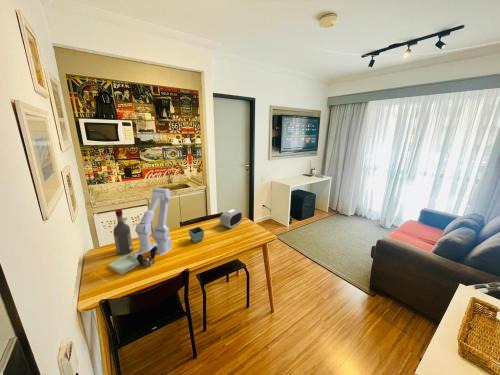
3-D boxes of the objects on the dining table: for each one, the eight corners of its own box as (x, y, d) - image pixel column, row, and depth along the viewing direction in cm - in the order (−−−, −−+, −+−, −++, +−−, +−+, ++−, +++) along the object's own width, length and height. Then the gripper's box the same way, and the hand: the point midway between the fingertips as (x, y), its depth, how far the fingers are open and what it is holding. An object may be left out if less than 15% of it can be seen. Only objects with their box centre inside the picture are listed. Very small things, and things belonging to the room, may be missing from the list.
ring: (148, 260, 129) (148, 256, 128) (155, 263, 126) (155, 259, 125) (140, 265, 124) (140, 261, 123) (147, 268, 122) (147, 264, 121)
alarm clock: (228, 230, 170) (228, 216, 166) (220, 227, 175) (219, 213, 171) (242, 222, 187) (243, 208, 183) (234, 219, 192) (234, 206, 188)
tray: (130, 257, 132) (129, 253, 132) (142, 263, 127) (142, 259, 126) (109, 268, 122) (108, 264, 121) (122, 275, 116) (121, 271, 115)
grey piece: (148, 261, 129) (148, 255, 128) (154, 264, 127) (153, 257, 125) (141, 265, 125) (140, 259, 123) (146, 268, 122) (146, 262, 121)
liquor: (117, 256, 132) (109, 214, 124) (117, 249, 139) (110, 209, 131) (133, 252, 137) (127, 211, 128) (132, 246, 144) (126, 206, 136)
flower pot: (194, 245, 148) (193, 234, 145) (188, 240, 154) (188, 229, 152) (204, 241, 153) (204, 230, 151) (199, 236, 160) (198, 226, 157)
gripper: (151, 235, 129) (153, 253, 133) (128, 245, 117) (131, 266, 120) (158, 238, 126) (160, 256, 130) (136, 249, 113) (139, 270, 117)
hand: (147, 261), depth 125 cm, fingers open, 7 cm apart
